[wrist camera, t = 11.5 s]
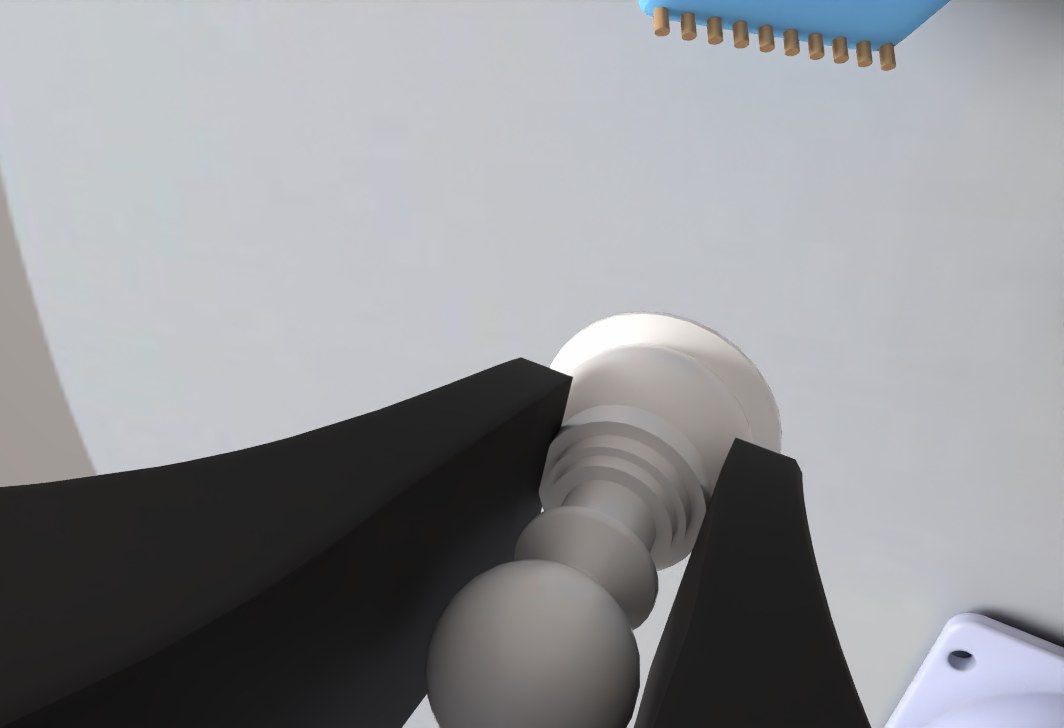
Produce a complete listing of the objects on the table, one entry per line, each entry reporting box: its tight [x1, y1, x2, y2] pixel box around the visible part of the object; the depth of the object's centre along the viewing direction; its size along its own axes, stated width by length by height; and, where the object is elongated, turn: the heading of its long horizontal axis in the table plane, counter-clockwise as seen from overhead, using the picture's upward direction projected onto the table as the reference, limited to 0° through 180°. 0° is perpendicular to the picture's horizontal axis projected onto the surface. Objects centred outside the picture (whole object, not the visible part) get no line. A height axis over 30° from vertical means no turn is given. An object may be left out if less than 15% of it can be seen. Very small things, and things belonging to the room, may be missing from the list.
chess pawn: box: [426, 311, 782, 728], centre depth 9 cm, size 3×3×5 cm
